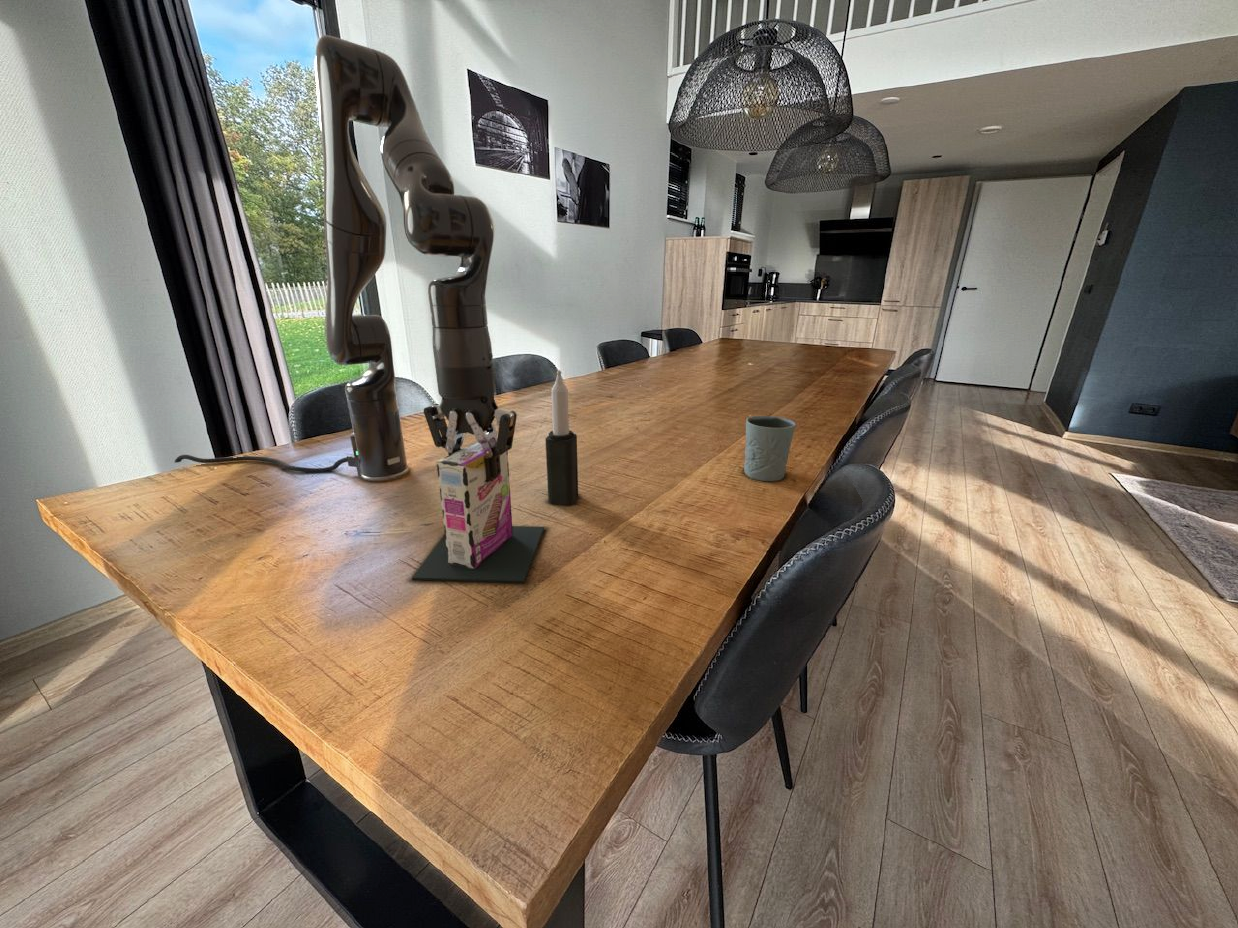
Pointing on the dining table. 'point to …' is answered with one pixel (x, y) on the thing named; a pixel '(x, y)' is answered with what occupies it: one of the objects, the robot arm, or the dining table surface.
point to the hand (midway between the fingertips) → (476, 476)
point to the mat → (486, 561)
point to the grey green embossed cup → (767, 447)
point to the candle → (561, 450)
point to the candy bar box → (473, 506)
